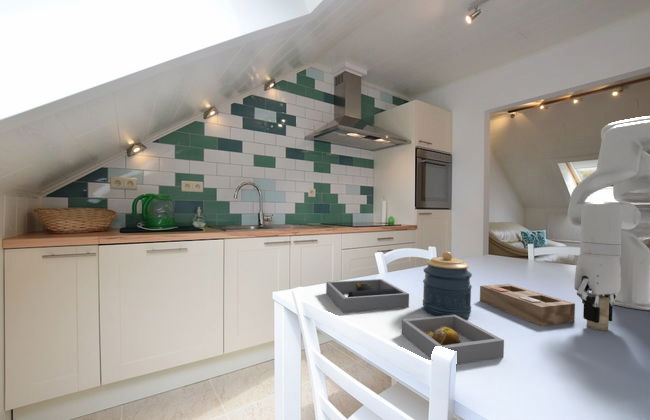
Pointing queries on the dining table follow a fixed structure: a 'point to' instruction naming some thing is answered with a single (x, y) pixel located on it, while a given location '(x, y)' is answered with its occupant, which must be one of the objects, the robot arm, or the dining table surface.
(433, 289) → the canister
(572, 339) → the dining table surface
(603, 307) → the peg
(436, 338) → the fruit
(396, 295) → the tray
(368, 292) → the pipe connector
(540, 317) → the socket block
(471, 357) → the fruit corral
